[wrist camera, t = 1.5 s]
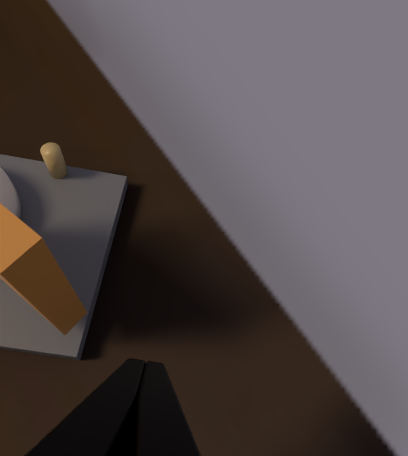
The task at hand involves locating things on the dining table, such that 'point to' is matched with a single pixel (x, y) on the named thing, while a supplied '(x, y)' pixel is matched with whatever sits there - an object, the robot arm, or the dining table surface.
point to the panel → (61, 244)
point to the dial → (33, 265)
